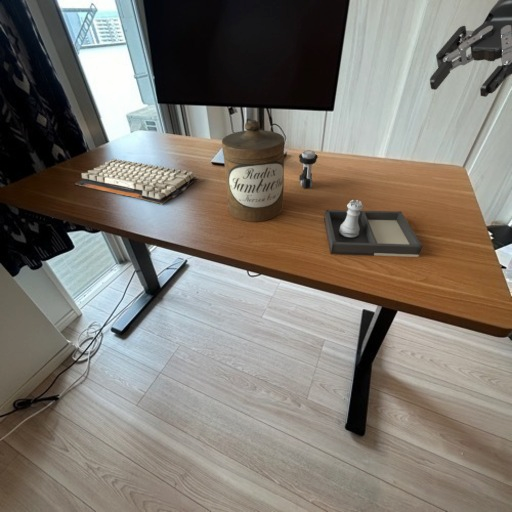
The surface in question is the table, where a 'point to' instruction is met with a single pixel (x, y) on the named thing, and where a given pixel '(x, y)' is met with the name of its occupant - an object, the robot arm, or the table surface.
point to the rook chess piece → (351, 220)
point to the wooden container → (254, 172)
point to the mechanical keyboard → (137, 180)
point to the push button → (307, 167)
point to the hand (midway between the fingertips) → (456, 89)
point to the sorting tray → (373, 234)
